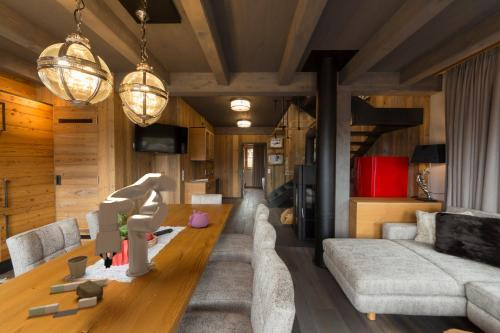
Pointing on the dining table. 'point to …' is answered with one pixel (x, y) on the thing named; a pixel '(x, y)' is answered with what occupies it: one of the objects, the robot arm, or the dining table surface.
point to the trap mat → (66, 313)
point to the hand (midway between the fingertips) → (108, 267)
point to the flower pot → (77, 265)
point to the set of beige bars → (66, 287)
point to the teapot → (199, 219)
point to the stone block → (89, 290)
